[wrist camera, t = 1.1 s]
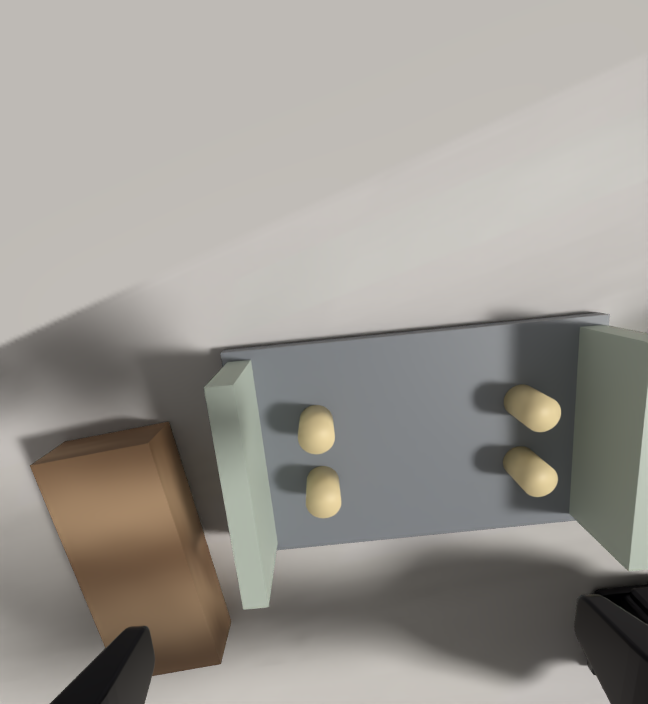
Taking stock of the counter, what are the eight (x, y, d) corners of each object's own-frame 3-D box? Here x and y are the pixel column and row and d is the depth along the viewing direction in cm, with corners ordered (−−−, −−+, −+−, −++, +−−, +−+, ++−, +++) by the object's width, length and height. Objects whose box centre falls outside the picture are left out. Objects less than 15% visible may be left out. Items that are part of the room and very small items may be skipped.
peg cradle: (584, 509, 22) (659, 577, 18) (255, 542, 22) (238, 618, 18) (598, 312, 20) (691, 327, 15) (224, 349, 20) (194, 376, 15)
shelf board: (232, 615, 24) (220, 664, 21) (143, 631, 24) (119, 681, 21) (171, 418, 21) (148, 443, 18) (69, 438, 21) (29, 465, 18)
